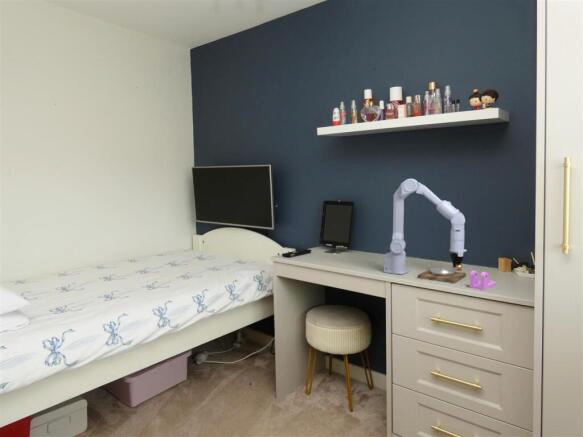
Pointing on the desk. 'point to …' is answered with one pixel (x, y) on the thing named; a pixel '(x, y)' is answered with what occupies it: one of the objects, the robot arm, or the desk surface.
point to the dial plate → (442, 277)
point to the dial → (445, 270)
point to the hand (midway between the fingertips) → (456, 269)
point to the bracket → (481, 284)
